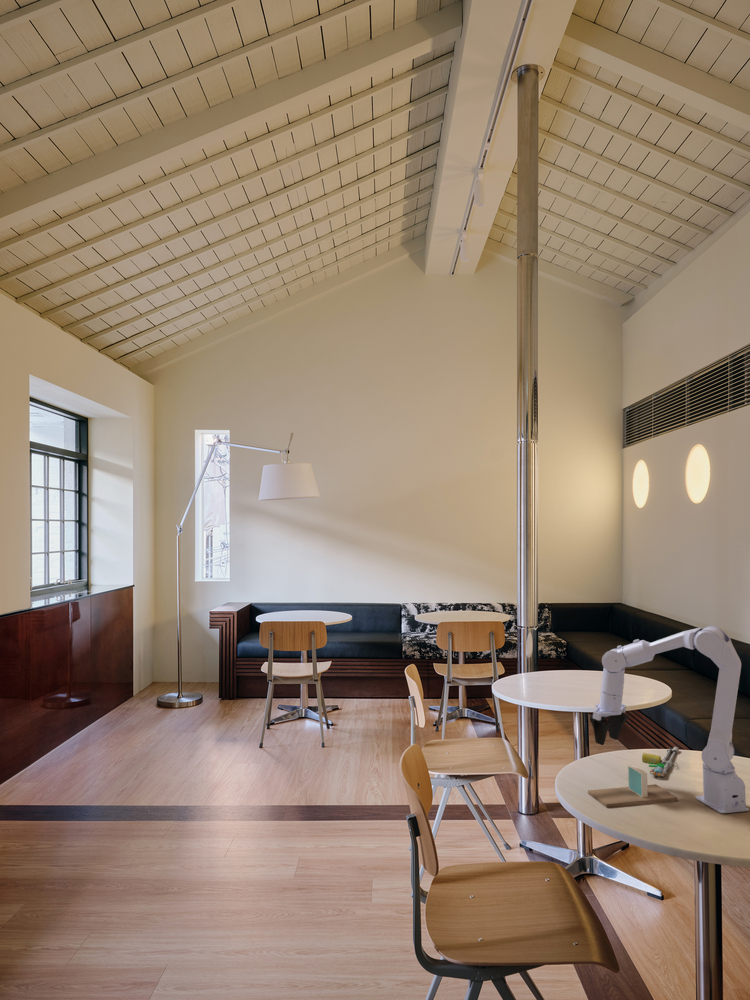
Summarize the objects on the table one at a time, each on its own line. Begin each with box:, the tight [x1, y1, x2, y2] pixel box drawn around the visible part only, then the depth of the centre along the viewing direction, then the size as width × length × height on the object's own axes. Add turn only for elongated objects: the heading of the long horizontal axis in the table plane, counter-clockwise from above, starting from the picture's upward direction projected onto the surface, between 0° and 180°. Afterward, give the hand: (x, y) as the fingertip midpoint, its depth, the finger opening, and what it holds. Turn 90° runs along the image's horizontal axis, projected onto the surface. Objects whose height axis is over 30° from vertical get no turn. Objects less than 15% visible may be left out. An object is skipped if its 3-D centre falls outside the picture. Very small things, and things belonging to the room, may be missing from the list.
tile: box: [627, 764, 648, 797], centre depth 171 cm, size 6×2×6 cm, turn 11°
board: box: [587, 784, 679, 808], centre depth 170 cm, size 9×20×1 cm, turn 101°
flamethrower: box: [641, 746, 680, 778], centre depth 196 cm, size 29×3×10 cm
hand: (606, 741), depth 182 cm, fingers open, 7 cm apart
